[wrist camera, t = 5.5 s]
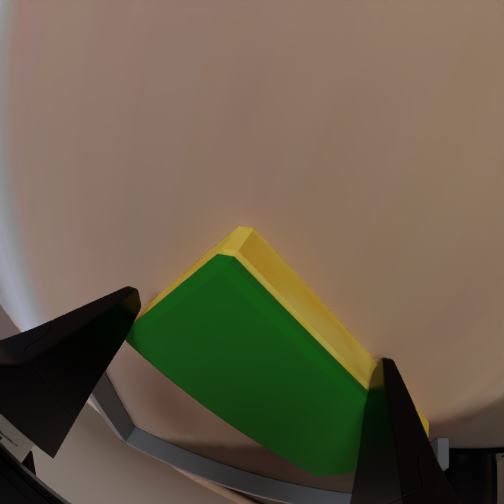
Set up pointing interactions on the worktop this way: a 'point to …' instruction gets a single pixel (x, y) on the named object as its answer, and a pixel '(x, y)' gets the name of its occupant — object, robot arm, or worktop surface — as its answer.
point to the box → (295, 496)
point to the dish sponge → (262, 354)
